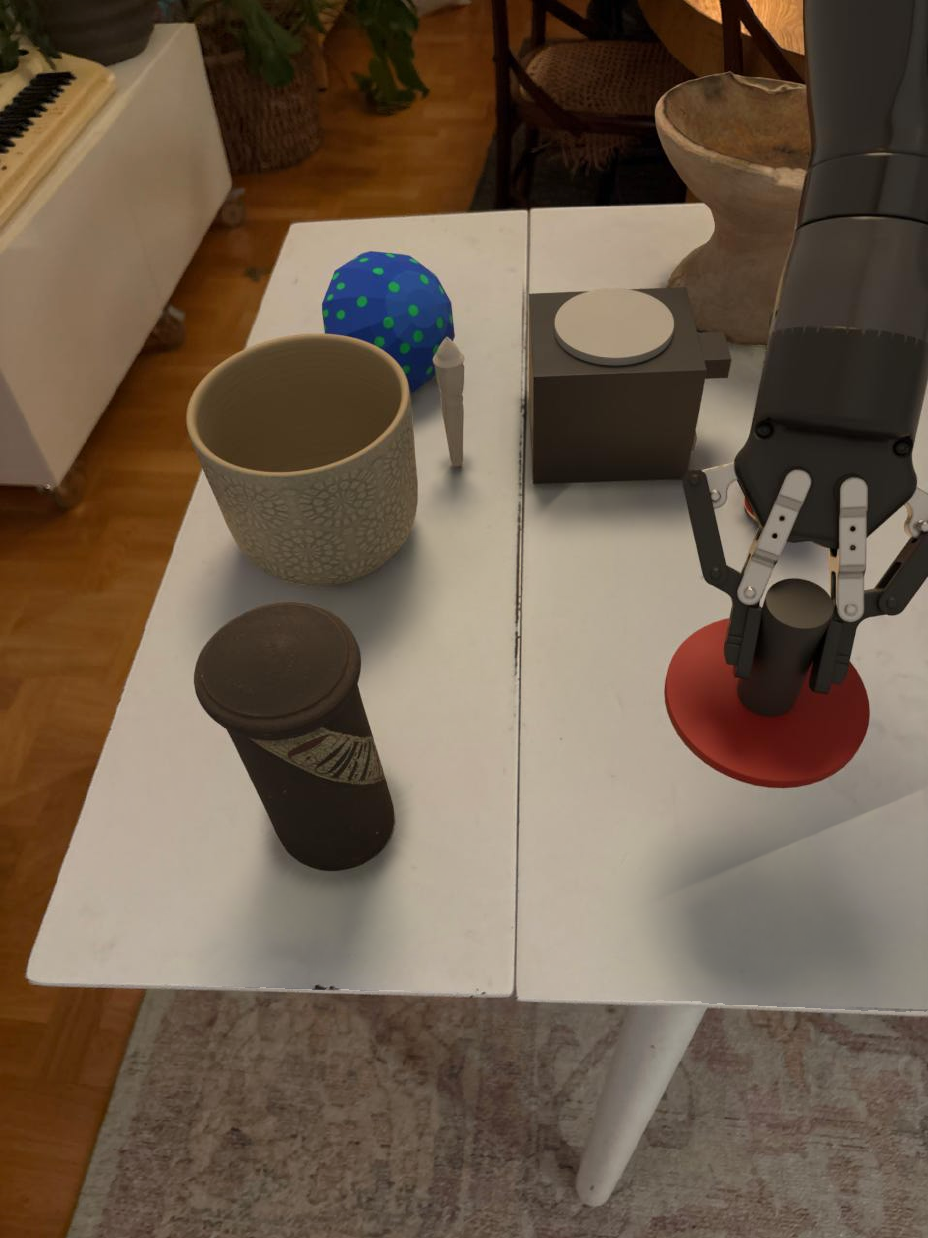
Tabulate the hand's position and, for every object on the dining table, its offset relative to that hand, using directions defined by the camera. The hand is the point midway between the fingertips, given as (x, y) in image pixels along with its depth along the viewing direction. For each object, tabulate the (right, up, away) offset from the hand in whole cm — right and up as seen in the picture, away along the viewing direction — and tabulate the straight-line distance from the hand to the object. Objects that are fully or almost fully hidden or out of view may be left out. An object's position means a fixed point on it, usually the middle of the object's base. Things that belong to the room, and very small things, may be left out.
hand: (779, 681), depth 46 cm
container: (-25, -11, +18) cm, 33 cm away
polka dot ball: (-24, +28, +48) cm, 61 cm away
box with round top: (-1, +21, +40) cm, 45 cm away
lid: (+1, -1, +5) cm, 5 cm away
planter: (-28, +10, +34) cm, 45 cm away
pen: (-17, +18, +39) cm, 46 cm away
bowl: (+16, +38, +53) cm, 67 cm away
